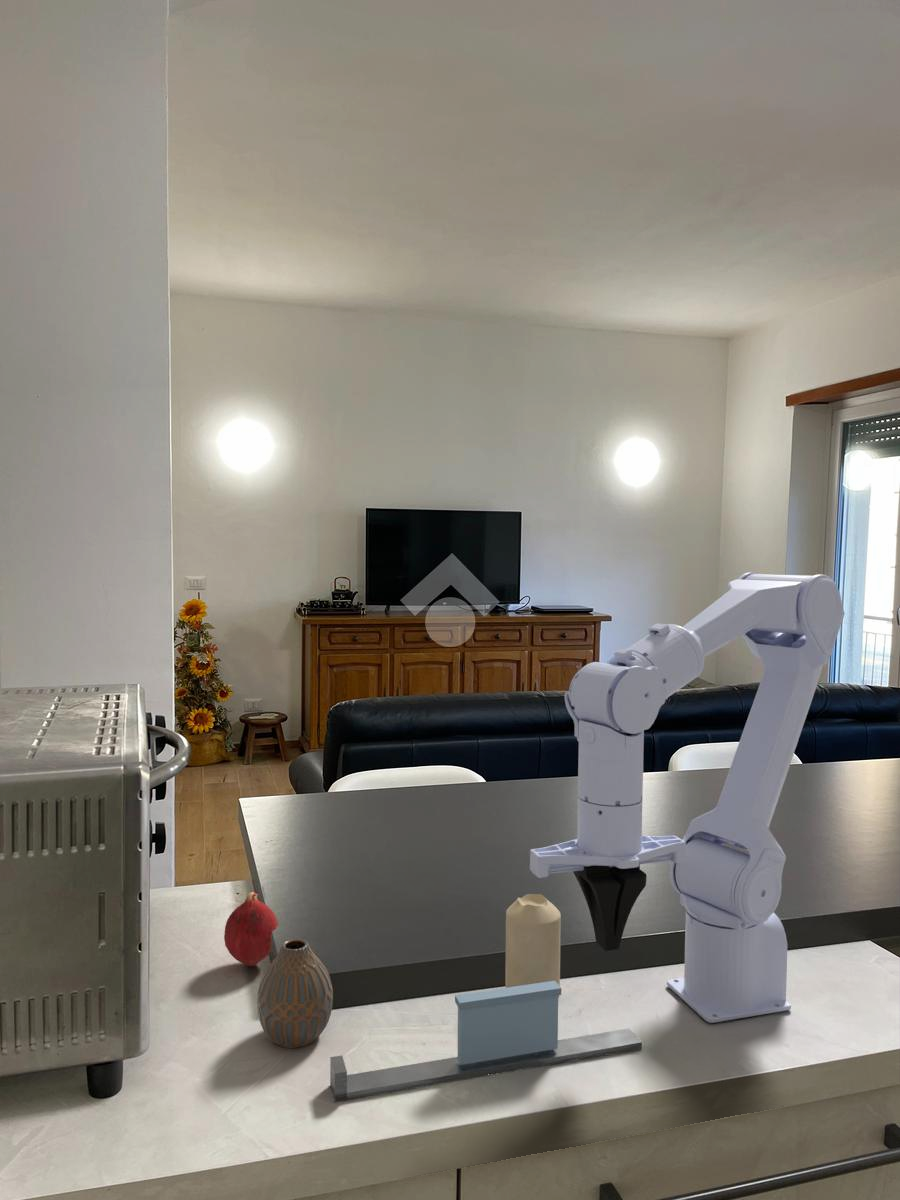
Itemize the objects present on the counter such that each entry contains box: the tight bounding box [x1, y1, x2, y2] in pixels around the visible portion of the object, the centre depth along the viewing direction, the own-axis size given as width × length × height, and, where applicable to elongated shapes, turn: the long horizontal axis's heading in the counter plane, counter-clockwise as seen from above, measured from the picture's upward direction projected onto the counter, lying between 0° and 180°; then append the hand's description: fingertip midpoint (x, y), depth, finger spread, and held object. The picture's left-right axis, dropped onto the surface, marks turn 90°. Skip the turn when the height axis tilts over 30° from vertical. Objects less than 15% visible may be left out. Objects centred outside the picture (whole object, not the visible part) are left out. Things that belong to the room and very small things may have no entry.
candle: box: [504, 893, 562, 998], centre depth 89 cm, size 6×6×10 cm
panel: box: [454, 981, 562, 1065], centre depth 77 cm, size 9×1×6 cm, turn 106°
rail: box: [329, 1028, 643, 1103], centre depth 76 cm, size 28×2×2 cm, turn 106°
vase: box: [256, 938, 334, 1049], centre depth 81 cm, size 7×7×9 cm
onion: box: [223, 891, 279, 967], centre depth 94 cm, size 6×6×8 cm
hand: (607, 945), depth 79 cm, fingers closed
